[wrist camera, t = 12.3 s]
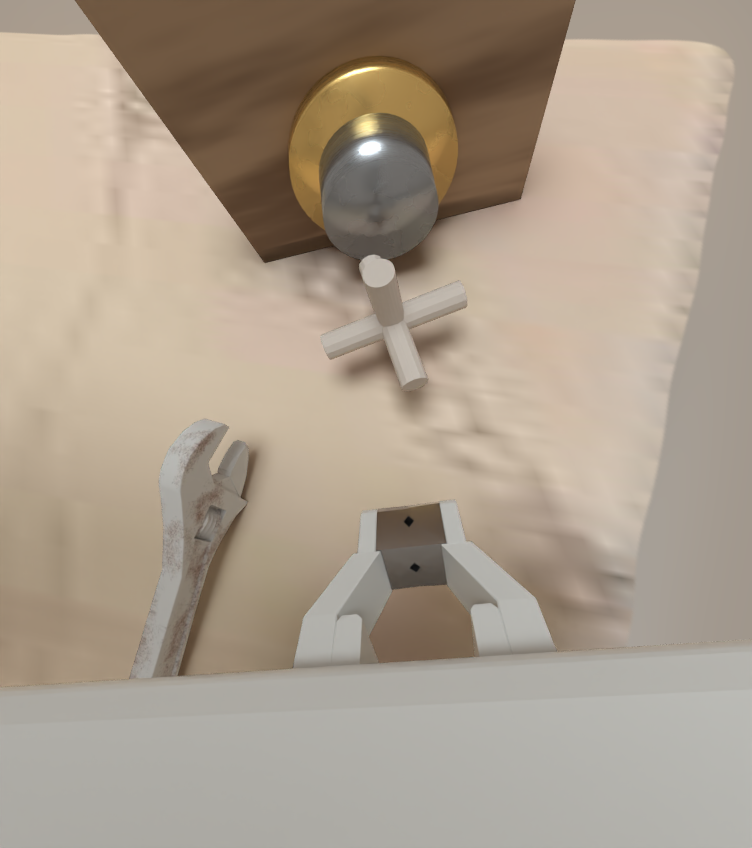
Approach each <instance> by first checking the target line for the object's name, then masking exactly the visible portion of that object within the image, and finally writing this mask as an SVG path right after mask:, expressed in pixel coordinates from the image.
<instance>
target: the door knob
mask: <svg viewBox="0 0 752 848" xmlns="http://www.w3.org/2000/svg"><path fill="white" fill-rule="evenodd" d="M457 158H458V139H457V132H456V128H455V123H454V119H453V116H452V112H451V109H450V106H449V103H448V101H447V99H446V97H445V95H444V93H443V92H442V90H441V89H440V87H439V86H438V84H437V83H436V82H435V81H434V80H433V79H432V78H431V77H430V76H429V75H428V74H427V73H426V72H424V71H423V70H422V69H420V68H419V67H417V66H415V65H414V64H412V63H410V62H408V61H405V60H402V59H398V58H395V57H388V56H366V57H362V58H358V59H353V60H351V61H348V62H346V63H344V64H341V65H339V66H337V67H336V68H334V69H333V70H331V71H329V72H328V73H326V74H325V75H324V76H323V77H322V78H321V79H319V80H318V81H317V82H316V83H315V84H314V86H313V87H312V88H311V89H310V90H309V91H308V92H307V94H306V95H305V97H304V99H303V100H302V102H301V103H300V105H299V107H298V109H297V112H296V114H295V116H294V119H293V122H292V126H291V129H290V135H289V141H288V159H289V171H290V179H291V183H292V187H293V190H294V193H295V196H296V198H297V200H298V202H299V204H300V205H301V207H302V209H303V210H304V211H305V213H306V214H307V215H308V216H309V217H310V218H311V219H312V221H313V222H315V223H316V224H317V225H318V226H320V227H321V228H322V229H324V230H325V231H326V233H327V235H328V237H329V239H330V241H331V242H332V243H333V244H334V245H335V247H336V248H338V249H339V250H340V251H341V252H343V253H345V254H346V255H348V256H351V257H353V258H356V259H360V260H362V259H364V258H365V257H367V256H369V255H374V254H375V255H378V256H380V257H381V259H391V258H395V257H397V256H400V255H402V254H404V253H406V252H408V251H410V250H411V249H413V248H414V247H416V246H417V245H418V244H419V243H420V242H421V241H422V240H423V239H424V238H425V237H426V236H427V235H428V233H429V232H430V230H431V229H432V227H433V225H434V223H435V220H436V218H437V213H438V206H439V203H440V202H441V201H442V199H443V197H444V196H445V194H446V192H447V190H448V189H449V187H450V184H451V182H452V179H453V177H454V173H455V169H456V165H457Z"/></svg>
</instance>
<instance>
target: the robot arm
mask: <svg viewBox="0 0 752 848" xmlns="http://www.w3.org/2000/svg"><path fill="white" fill-rule="evenodd" d="M432 585H447V586H448V587H449V588H450V590H451V591H452V592H453V593H454V595H455V596H456V597H457V599H458V600H459V601H460V602H461V604H462V605H463V606H464V607H465V609H466V610H467V611H468V612H469V614H470V615H471V623H472V634H473V646H474V657H466V658H450V659H434V660H419V661H403V662H388V663H379V661H378V658H377V656H376V653H375V651H374V648H373V645H372V643H371V640H370V638H369V635H370V633H371V631H372V629H373V628H374V626H375V624H376V622H377V620H378V618H379V616H380V614H381V612H382V610H383V608H384V606H385V604H386V602H387V600H388V598H389V596H390V595H391V593H392V590H393V589H401V588H409V587H417V586H432ZM0 848H752V639H748V640H732V641H716V642H701V643H686V644H669V645H654V646H638V647H623V648H607V649H592V650H576V651H561V652H557V650H556V647H555V645H554V642H553V640H552V637H551V635H550V632H549V630H548V627H547V625H546V622H545V620H544V617H543V615H542V612H541V610H540V607H539V605H538V602H537V600H536V598H535V597H534V596H533V595H532V594H531V593H529V592H528V591H527V590H526V589H525V588H524V587H523V586H521V585H520V584H519V583H518V582H517V581H516V580H515V579H514V578H512V577H511V576H510V575H509V574H508V573H507V572H506V571H504V570H503V569H502V568H501V567H500V566H499V565H498V564H497V563H495V562H494V561H493V560H492V559H491V558H490V557H489V556H487V555H486V554H485V553H484V552H483V551H482V550H481V549H480V548H478V547H477V546H476V545H475V544H474V543H473V542H472V541H470V542H466V538H465V534H464V530H463V526H462V522H461V518H460V514H459V510H458V506H457V502H456V501H455V499H454V500H447V501H439V502H432V503H424V504H417V505H409V506H402V507H392V508H382V509H375V510H364V511H362V513H361V518H360V530H359V541H358V552H357V553H356V554H352V556H351V557H350V558H349V559H348V561H347V562H346V563H345V565H344V566H343V567H342V568H341V570H340V571H339V572H338V574H337V575H336V576H335V577H334V579H333V580H332V581H331V583H330V584H329V585H328V586H327V588H326V589H325V590H324V592H323V593H322V594H321V595H320V597H319V598H318V599H317V601H316V602H315V603H314V604H313V606H312V607H311V608H310V609H309V611H308V612H307V613H306V615H305V616H304V618H303V622H302V627H301V631H300V636H299V641H298V645H297V650H296V655H295V659H294V664H293V669H279V670H264V671H248V672H232V673H217V674H201V675H186V676H170V677H154V678H138V679H122V680H107V681H91V682H75V683H59V684H43V685H27V686H9V687H0Z"/></svg>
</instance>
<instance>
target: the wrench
mask: <svg viewBox="0 0 752 848" xmlns="http://www.w3.org/2000/svg"><path fill="white" fill-rule="evenodd" d="M228 429H229V426H227V425H225V424H222V423H218V422H215V421H211V420H208V419H202V420H200V421H197V422H195V423H193V424H192V425H191V426H189V427H188V428H187V429H185V430H184V431H183V432H182V433H181V434H180V436H179V437H178V438H177V439H176V441H175V442H174V443H173V444H172V446H171V447H170V448H169V450H168V452H167V455H166V457H165V459H164V462H163V464H162V467H161V471H160V477H159V489H160V496H161V505H162V516H163V526H164V531H163V562H162V572H161V575H160V578H159V582H158V585H157V588H156V592H155V595H154V598H153V601H152V605H151V608H150V611H149V615H148V618H147V621H146V625H145V628H144V631H143V635H142V638H141V641H140V644H139V648H138V651H137V654H136V658H135V661H134V664H133V668H132V671H131V674H130V678H129V679H138V678H154V677H170V676H178V672H179V668H180V665H181V661H182V658H183V654H184V651H185V647H186V644H187V640H188V636H189V633H190V629H191V626H192V622H193V619H194V615H195V611H196V608H197V604H198V601H199V598H200V594H201V591H202V588H203V584H204V581H205V578H206V574H207V571H208V568H209V565H210V563H211V561H212V558H213V556H214V554H215V552H216V550H217V548H218V546H219V544H220V542H221V540H222V538H223V537H224V535H225V533H226V532H227V530H228V528H229V527H230V525H231V523H232V522H233V520H234V518H235V516H236V515H237V514H238V513H239V512H240V511H241V510H242V509H243V508H244V507H245V505H246V504H247V503H248V502H247V501H245V500H244V499H242V498H240V497H241V494H242V490H243V487H244V483H245V480H246V476H247V467H248V445H247V444H246V443H245V442H243V441H239V440H237V441H235V442H233V444H232V445H231V447H230V448H229V449H228V451H227V452H226V454H225V456H224V458H223V460H222V462H221V464H220V466H219V468H218V473H216V474H214V475H211V471H210V468H209V464H208V462H209V461H210V459H211V457H212V456H213V454H214V452H215V451H216V449H217V447H218V445H219V444H220V442H221V440H222V439H223V437H224V435H225V434H226V432H227V430H228Z"/></svg>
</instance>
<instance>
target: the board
mask: <svg viewBox="0 0 752 848" xmlns="http://www.w3.org/2000/svg"><path fill="white" fill-rule="evenodd" d="M75 1H76V2H77V4H78V5H79V7H80V8H81V9H82V11H83V12H84V14H85V15H86V16H87V18H88V19H89V20H90V22H91V23H92V25H93V26H94V27H95V29H96V30H97V32H98V33H99V34H100V36H101V37H102V39H103V40H104V41H105V43H106V44H107V45H108V47H109V48H110V50H111V51H112V52H113V54H114V55H115V57H116V58H117V59H118V61H119V62H120V63H121V65H122V66H123V68H124V69H125V70H126V72H127V73H128V74H129V76H130V77H131V79H132V80H133V81H134V83H135V84H136V86H137V87H138V88H139V90H140V91H141V92H142V94H143V95H144V97H145V98H146V99H147V101H148V102H149V103H150V105H151V106H152V108H153V109H154V110H155V112H156V113H157V115H158V116H159V117H160V119H161V120H162V121H163V123H164V124H165V126H166V127H167V128H168V130H169V131H170V132H171V134H172V135H173V137H174V138H175V139H176V141H177V142H178V144H179V145H180V146H181V148H182V149H183V150H184V152H185V153H186V155H187V156H188V157H189V159H190V160H191V161H192V163H193V164H194V166H195V167H196V168H197V170H198V171H199V173H200V174H201V175H202V177H203V178H204V179H205V181H206V182H207V184H208V185H209V186H210V188H211V189H212V190H213V192H214V193H215V195H216V196H217V197H218V199H219V200H220V202H221V203H222V204H223V206H224V207H225V208H226V210H227V211H228V213H229V214H230V215H231V217H232V218H233V219H234V221H235V222H236V224H237V225H238V226H239V228H240V229H241V231H242V232H243V233H244V235H245V236H246V237H247V239H248V240H249V242H250V243H251V244H252V246H253V247H254V248H255V250H256V251H257V253H258V254H259V255H260V257H261V258H262V260H263V261H264V262H269V261H273V260H278V259H282V258H286V257H290V256H294V255H298V254H302V253H306V252H310V251H314V250H318V249H322V248H326V247H330V246H334V244H333V243H332V242H331V241H330V239H329V237H328V235H327V233H326V231H325V230H324V229H322V228H321V227H320V226H318V225H317V224H316V223H315V222H313V221H312V219H311V218H310V217H309V216H308V215H307V214H306V213H305V211H304V210H303V209H302V207H301V205H300V204H299V202H298V200H297V198H296V196H295V193H294V190H293V187H292V183H291V179H290V171H289V159H288V141H289V135H290V129H291V126H292V122H293V119H294V116H295V114H296V112H297V109H298V107H299V105H300V103H301V102H302V100H303V99H304V97H305V95H306V94H307V92H308V91H309V90H310V89H311V88H312V87H313V86H314V84H315V83H316V82H317V81H318V80H319V79H321V78H322V77H323V76H324V75H325V74H326V73H328V72H329V71H331V70H333V69H334V68H336V67H337V66H339V65H341V64H344V63H346V62H348V61H351V60H353V59H358V58H362V57H366V56H388V57H395V58H398V59H402V60H405V61H408V62H410V63H412V64H414V65H415V66H417V67H419V68H420V69H422V70H423V71H424V72H426V73H427V74H428V75H429V76H430V77H431V78H432V79H433V80H434V81H435V82H436V83H437V84H438V86H439V87H440V89H441V90H442V92H443V93H444V95H445V97H446V99H447V101H448V103H449V106H450V109H451V112H452V116H453V119H454V123H455V128H456V132H457V139H458V158H457V165H456V169H455V173H454V177H453V179H452V182H451V184H450V187H449V189H448V190H447V192H446V194H445V196H444V197H443V199H442V201H441V202H440V203H439V206H438V213H437V218H436V220H438V219H442V218H446V217H450V216H454V215H458V214H462V213H466V212H470V211H474V210H478V209H482V208H486V207H490V206H494V205H498V204H502V203H506V202H510V201H514V200H518V199H521V195H522V192H523V188H524V185H525V181H526V177H527V174H528V170H529V167H530V163H531V159H532V156H533V152H534V149H535V145H536V141H537V138H538V134H539V131H540V127H541V123H542V120H543V116H544V113H545V109H546V105H547V102H548V98H549V94H550V91H551V87H552V84H553V80H554V76H555V73H556V69H557V66H558V62H559V58H560V55H561V51H562V48H563V44H564V40H565V37H566V33H567V30H568V26H569V22H570V19H571V15H572V12H573V8H574V4H575V1H576V0H75Z"/></svg>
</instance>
